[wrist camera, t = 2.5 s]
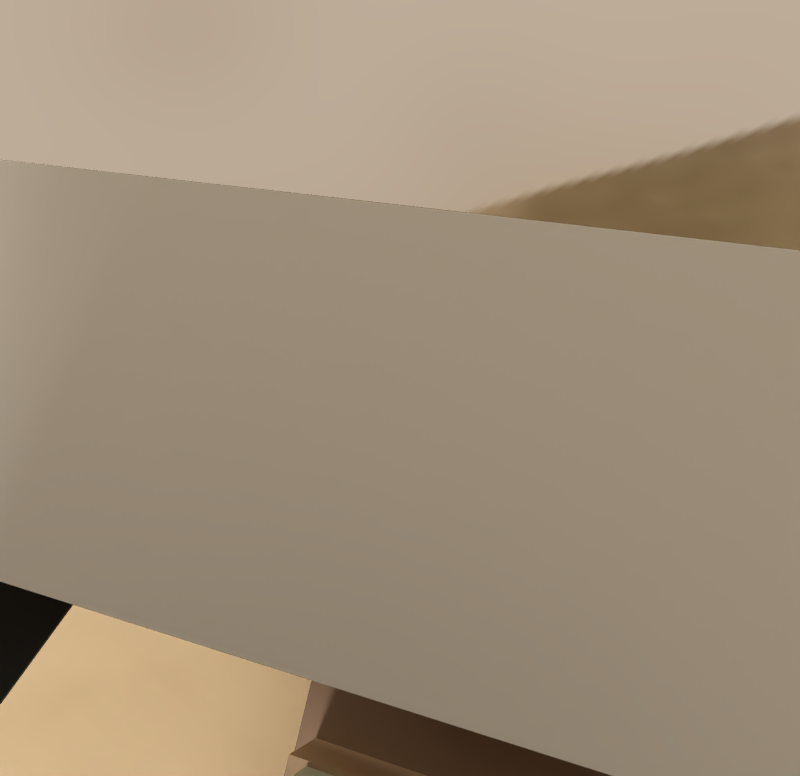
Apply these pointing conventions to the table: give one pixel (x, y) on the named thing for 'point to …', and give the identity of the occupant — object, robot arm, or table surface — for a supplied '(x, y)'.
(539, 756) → the rack
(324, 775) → the offcut upper
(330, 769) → the offcut lower
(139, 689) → the table surface
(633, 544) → the white rectangular block
